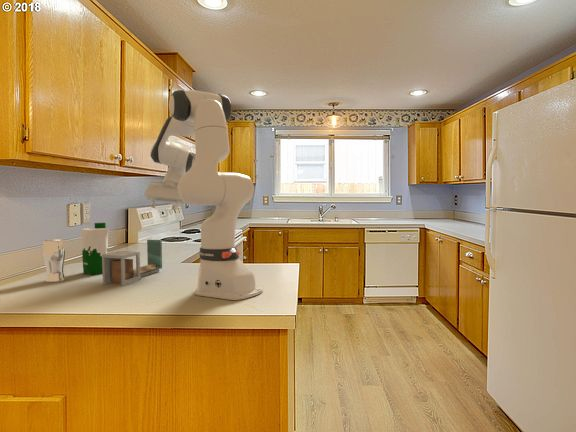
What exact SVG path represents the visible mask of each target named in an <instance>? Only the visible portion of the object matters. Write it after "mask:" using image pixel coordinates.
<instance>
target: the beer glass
mask: <svg viewBox="0 0 576 432" xmlns="http://www.w3.org/2000/svg"><path fill="white" fill-rule="evenodd" d="M42 241H43V244H42V254H43V255H42V256H43V261H44V264H45V269H46V276H45V282H46V283H59V282H64V281H65V280H66V278H65V274H64V273H65V272H64V267H65V261H66V243H65V239H64V238H63V239H62V238H51V239H45V240H44V239H43V240H42Z"/></svg>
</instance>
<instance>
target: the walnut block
mask: <svg viewBox="0 0 576 432" xmlns="http://www.w3.org/2000/svg"><path fill="white" fill-rule="evenodd" d="M133 269H134V259H133V258H125V280H127V279H130V278H133ZM111 283H112V284H120V285H121V259H117V260H113V261H112V282H111Z"/></svg>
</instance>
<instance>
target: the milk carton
mask: <svg viewBox="0 0 576 432" xmlns="http://www.w3.org/2000/svg"><path fill="white" fill-rule="evenodd" d="M109 230H110V228H108V227H107V226H106V222H94V227H86V228H81V229H80V231H81V234H80V235H81V250H82V251H81V254H82V255H81V256H82V269H83V274H87V275H89V276H93V275H100V274H101V275H102V274H103V272H102V255H103V254H108V253H109Z"/></svg>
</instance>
